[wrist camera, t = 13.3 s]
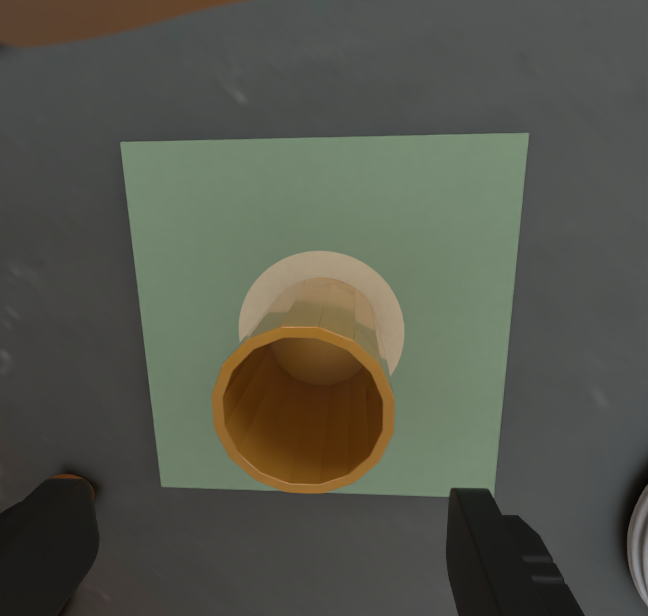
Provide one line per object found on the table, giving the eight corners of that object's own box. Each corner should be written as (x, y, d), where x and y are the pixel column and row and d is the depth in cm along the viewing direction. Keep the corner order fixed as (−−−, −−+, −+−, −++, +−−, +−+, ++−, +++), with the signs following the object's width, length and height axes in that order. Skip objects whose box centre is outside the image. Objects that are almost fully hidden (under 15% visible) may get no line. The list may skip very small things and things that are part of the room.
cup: (267, 386, 24) (218, 490, 15) (262, 277, 23) (204, 325, 14) (378, 388, 24) (392, 496, 15) (380, 277, 22) (397, 327, 14)
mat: (163, 483, 27) (160, 488, 26) (123, 142, 22) (118, 141, 21) (491, 494, 25) (494, 500, 25) (526, 133, 21) (530, 132, 20)
